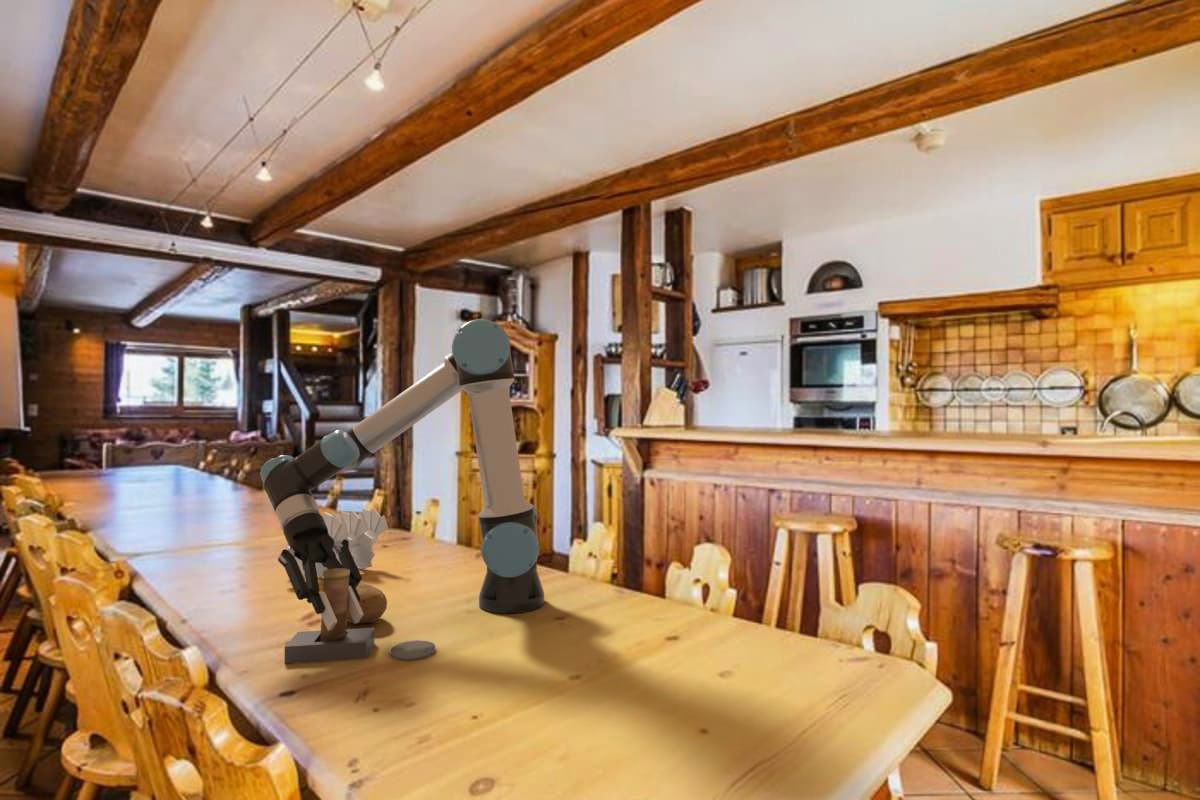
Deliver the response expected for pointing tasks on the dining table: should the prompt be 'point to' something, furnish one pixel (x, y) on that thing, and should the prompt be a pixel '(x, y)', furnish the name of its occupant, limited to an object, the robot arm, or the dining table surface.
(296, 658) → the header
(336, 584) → the plug
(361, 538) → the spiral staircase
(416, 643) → the coaster
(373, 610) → the potato
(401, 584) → the dining table surface
